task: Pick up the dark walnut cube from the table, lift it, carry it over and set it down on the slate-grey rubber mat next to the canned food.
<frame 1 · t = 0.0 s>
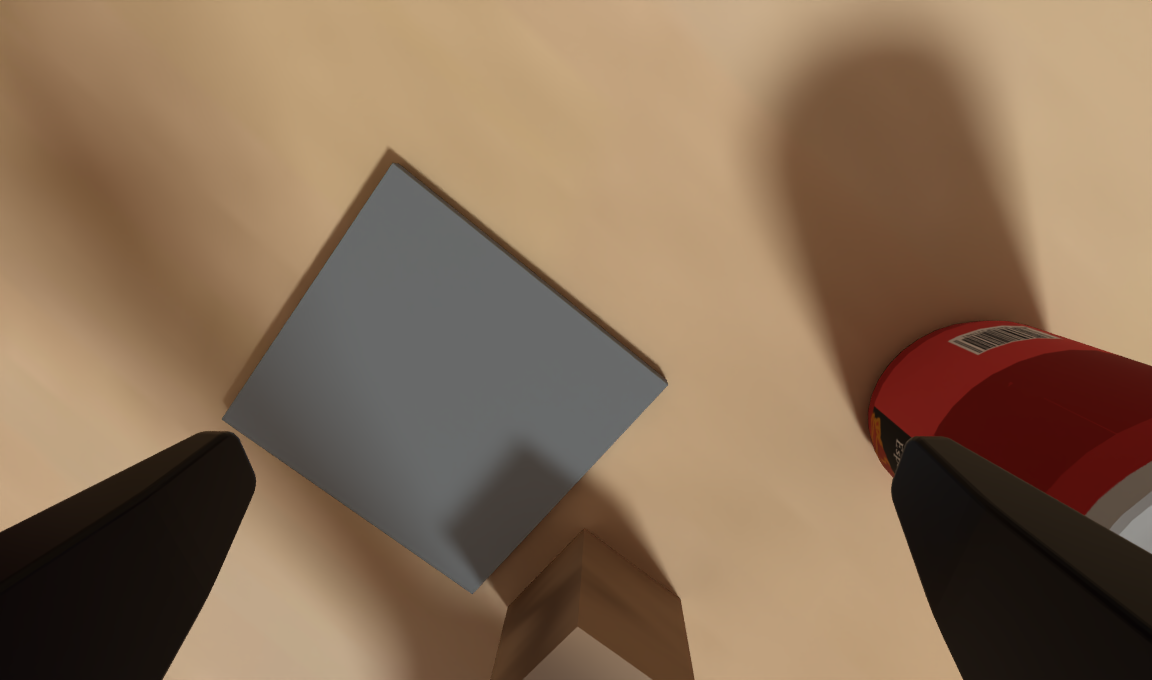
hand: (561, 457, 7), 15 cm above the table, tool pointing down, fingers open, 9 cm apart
walnut cube: (593, 602, 27), on the table
slate mat: (441, 397, 24), on the table
canned food: (955, 402, 23), on the table
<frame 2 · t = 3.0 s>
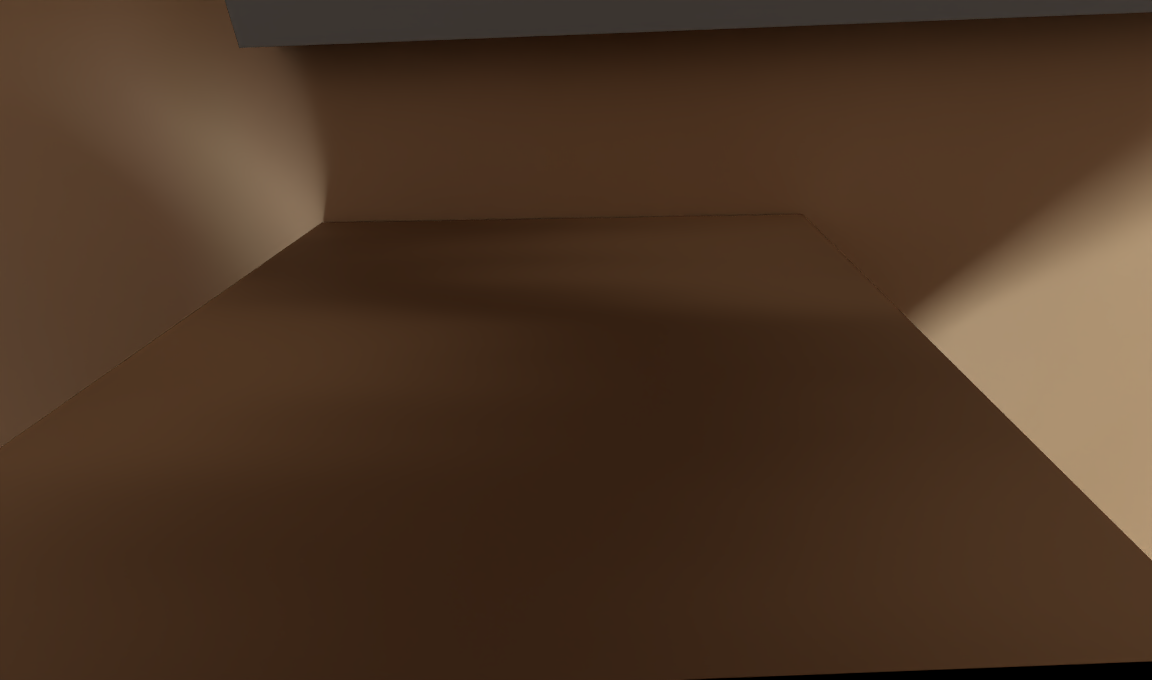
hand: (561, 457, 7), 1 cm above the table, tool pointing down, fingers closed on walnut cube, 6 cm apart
walnut cube: (565, 411, 8), on the table, touching gripper
when the fingers open (3 cm above the table, at t = 7.1 s): walnut cube drops 1 cm, resting on slate mat.
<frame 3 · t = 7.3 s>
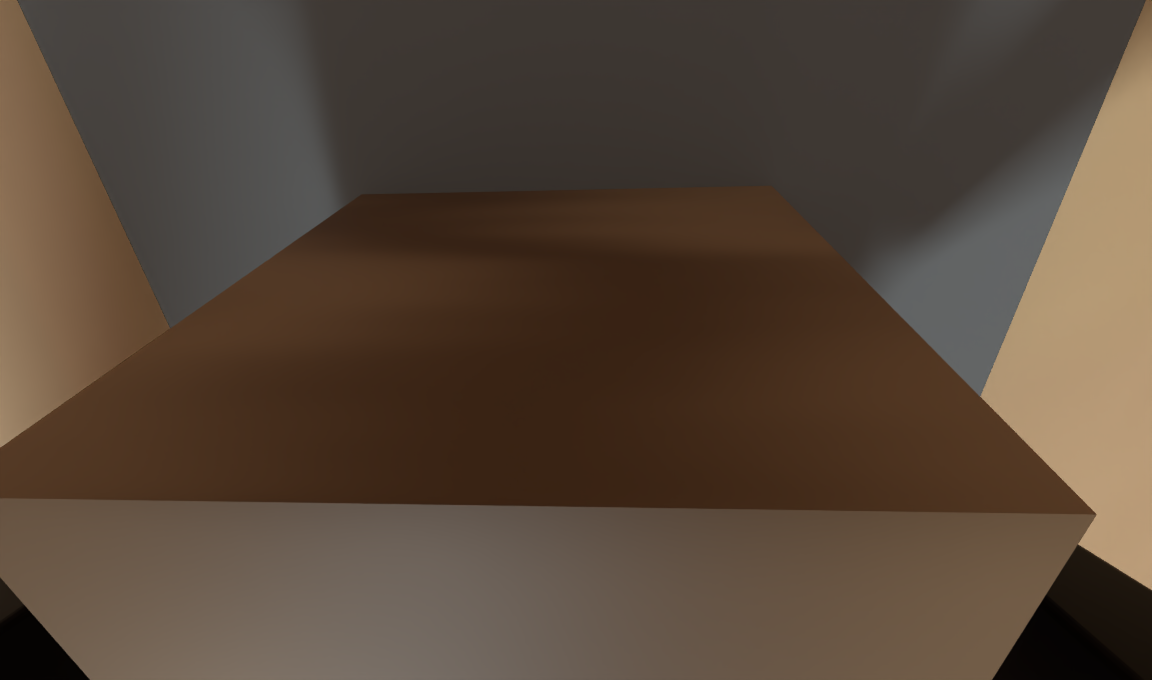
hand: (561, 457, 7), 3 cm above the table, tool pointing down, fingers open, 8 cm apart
walnut cube: (569, 363, 9), point 1 cm above the table, touching slate mat
slate mat: (573, 343, 10), on the table
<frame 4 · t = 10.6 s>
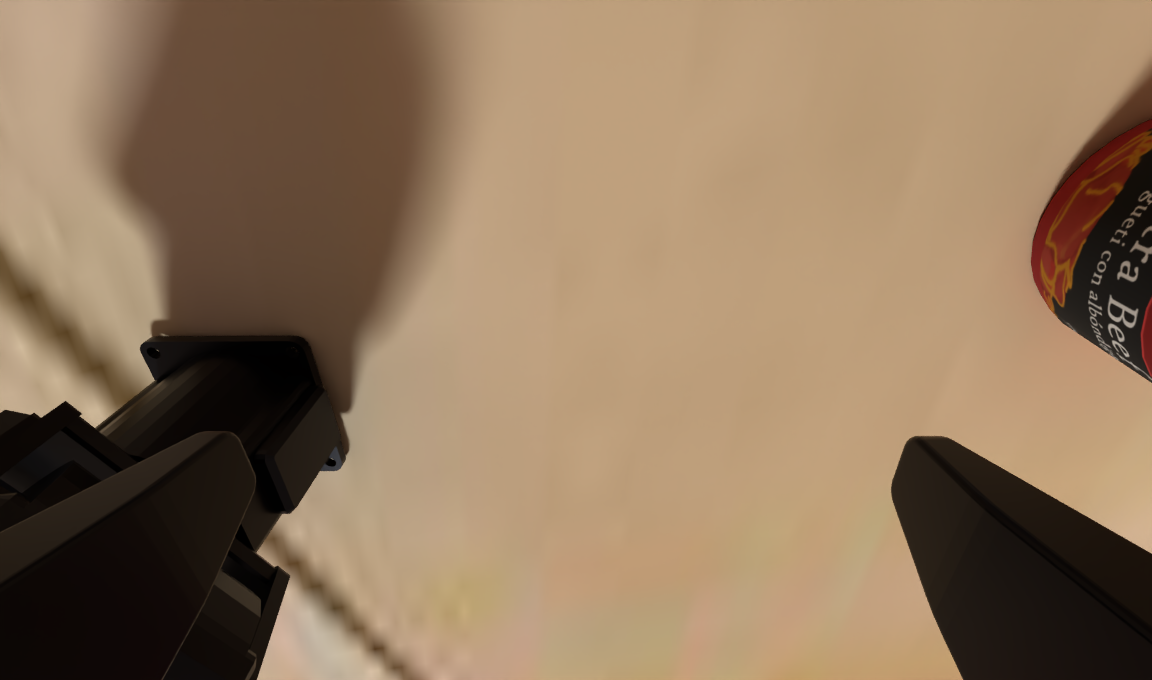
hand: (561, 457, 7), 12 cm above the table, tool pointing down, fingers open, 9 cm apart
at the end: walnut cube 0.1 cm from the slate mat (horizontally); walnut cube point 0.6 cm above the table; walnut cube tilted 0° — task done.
